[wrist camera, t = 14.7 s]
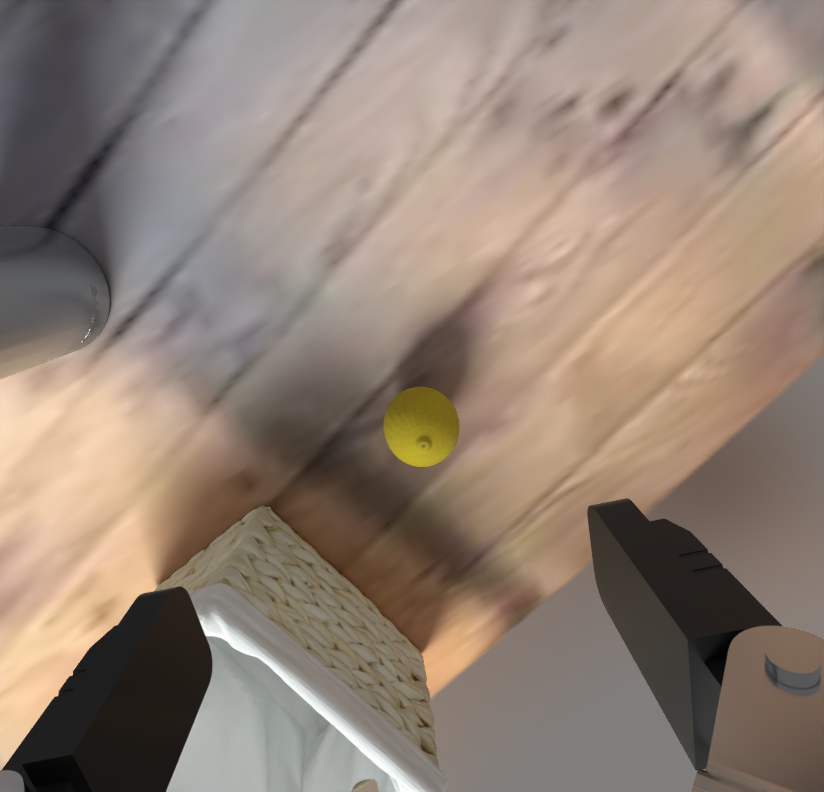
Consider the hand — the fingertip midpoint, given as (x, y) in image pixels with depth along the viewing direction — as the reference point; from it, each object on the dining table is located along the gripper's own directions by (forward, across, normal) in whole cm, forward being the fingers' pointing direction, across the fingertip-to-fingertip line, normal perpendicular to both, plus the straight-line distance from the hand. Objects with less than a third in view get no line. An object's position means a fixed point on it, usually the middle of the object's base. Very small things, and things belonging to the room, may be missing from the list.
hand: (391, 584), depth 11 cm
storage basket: (+32, +15, +25) cm, 44 cm away
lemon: (+32, 0, +7) cm, 33 cm away
